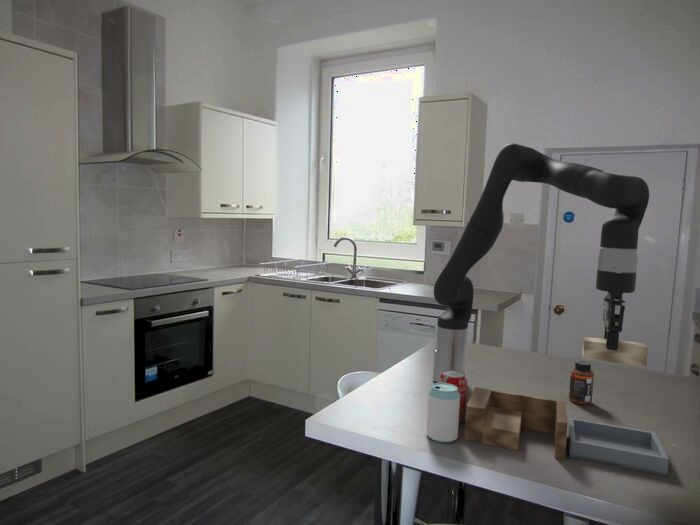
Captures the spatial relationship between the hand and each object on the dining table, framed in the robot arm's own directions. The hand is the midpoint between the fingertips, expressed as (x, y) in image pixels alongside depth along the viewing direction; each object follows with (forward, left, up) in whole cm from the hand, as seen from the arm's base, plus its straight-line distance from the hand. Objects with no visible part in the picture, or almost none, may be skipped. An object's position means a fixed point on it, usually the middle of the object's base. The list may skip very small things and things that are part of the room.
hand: (610, 346), depth 107 cm
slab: (+1, 0, -3) cm, 3 cm away
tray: (+2, 0, -24) cm, 24 cm away
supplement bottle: (-3, +31, -24) cm, 39 cm away
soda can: (-34, +1, -24) cm, 41 cm away
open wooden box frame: (-18, -2, -24) cm, 30 cm away
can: (-34, -10, -24) cm, 42 cm away
